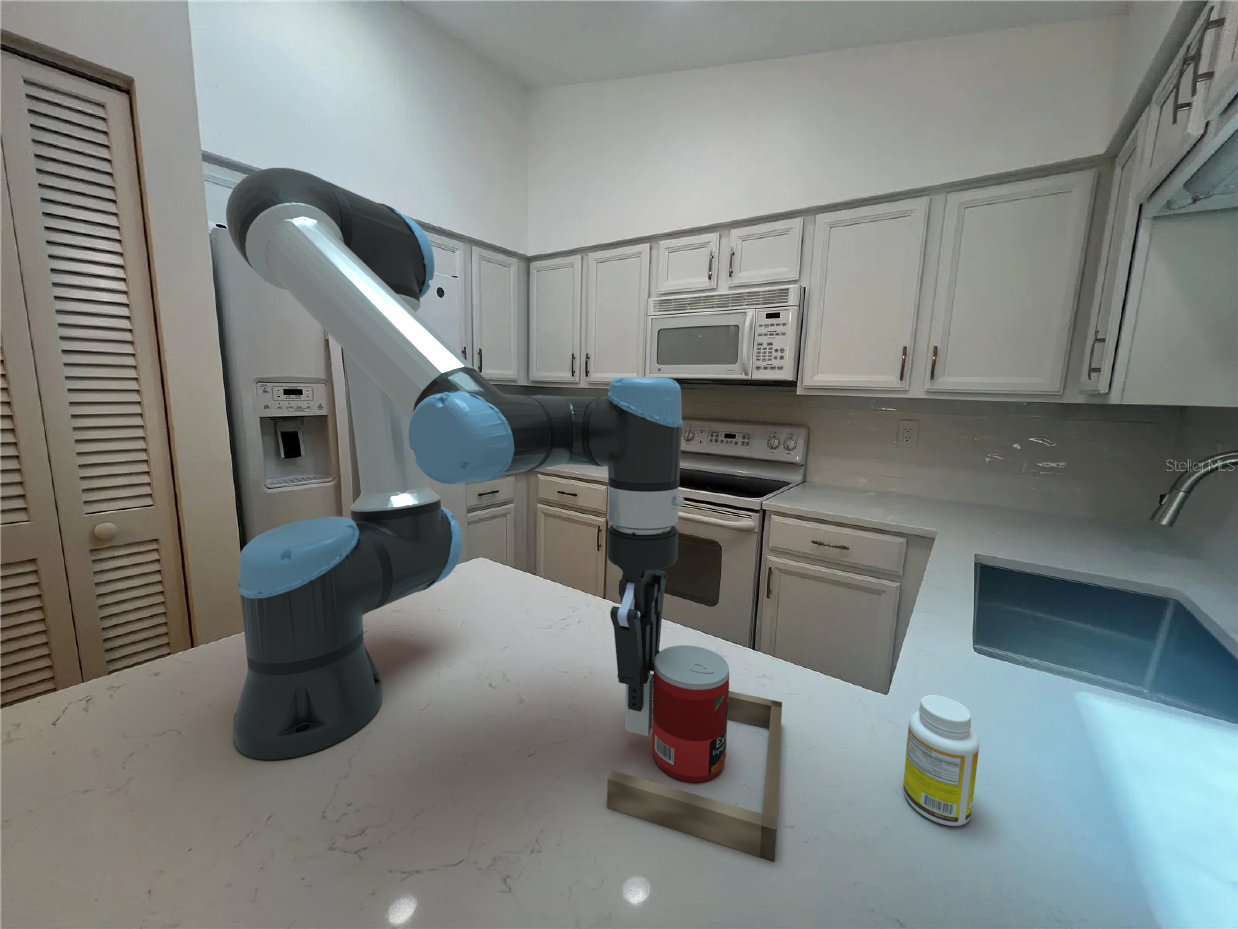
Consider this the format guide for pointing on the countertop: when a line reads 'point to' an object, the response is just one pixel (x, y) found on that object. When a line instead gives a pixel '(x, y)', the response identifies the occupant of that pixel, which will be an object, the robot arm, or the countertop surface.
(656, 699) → the canned food
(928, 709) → the supplement bottle
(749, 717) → the bay
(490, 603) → the countertop surface
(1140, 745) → the countertop surface
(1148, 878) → the countertop surface
